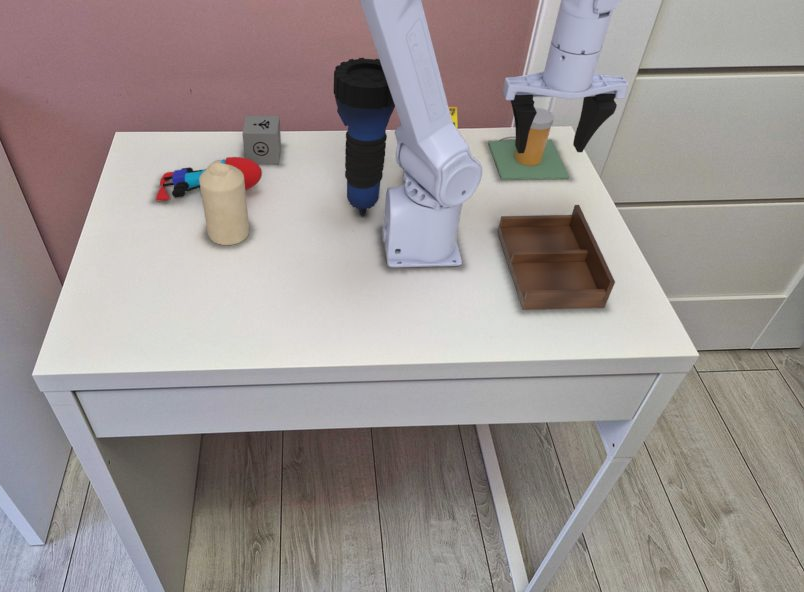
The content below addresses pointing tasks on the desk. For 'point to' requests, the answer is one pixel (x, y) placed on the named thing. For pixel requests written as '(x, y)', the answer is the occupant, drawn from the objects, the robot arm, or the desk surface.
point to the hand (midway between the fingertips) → (548, 148)
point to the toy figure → (190, 179)
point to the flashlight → (363, 126)
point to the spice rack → (555, 261)
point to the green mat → (516, 171)
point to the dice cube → (262, 139)
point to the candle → (224, 203)
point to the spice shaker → (536, 139)
